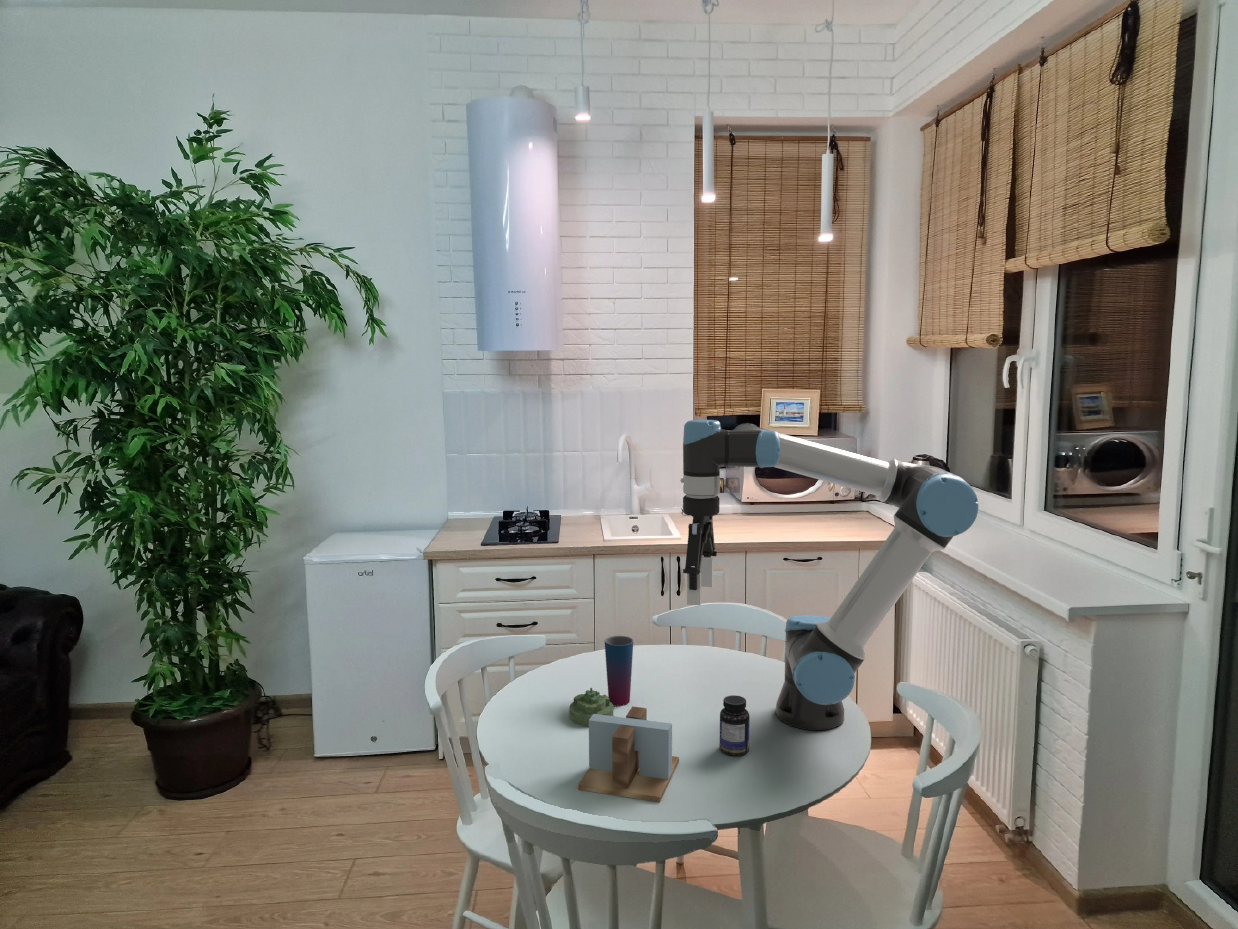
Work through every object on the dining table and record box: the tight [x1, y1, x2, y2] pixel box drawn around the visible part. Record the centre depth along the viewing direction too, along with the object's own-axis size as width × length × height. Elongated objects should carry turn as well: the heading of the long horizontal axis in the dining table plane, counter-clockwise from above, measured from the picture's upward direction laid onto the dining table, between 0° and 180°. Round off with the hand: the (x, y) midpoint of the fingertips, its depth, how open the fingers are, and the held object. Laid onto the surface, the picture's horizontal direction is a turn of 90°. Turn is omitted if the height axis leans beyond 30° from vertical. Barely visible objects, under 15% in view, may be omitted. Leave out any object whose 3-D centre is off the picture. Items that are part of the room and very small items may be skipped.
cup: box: [604, 635, 634, 706], centre depth 197 cm, size 7×7×15 cm
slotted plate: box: [588, 714, 673, 780], centre depth 163 cm, size 16×3×10 cm, turn 74°
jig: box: [577, 705, 680, 803], centre depth 163 cm, size 16×16×11 cm
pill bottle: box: [719, 694, 750, 757], centre depth 173 cm, size 6×6×11 cm
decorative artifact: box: [568, 687, 614, 727], centre depth 190 cm, size 10×7×10 cm
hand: (700, 595), depth 175 cm, fingers open, 13 cm apart
